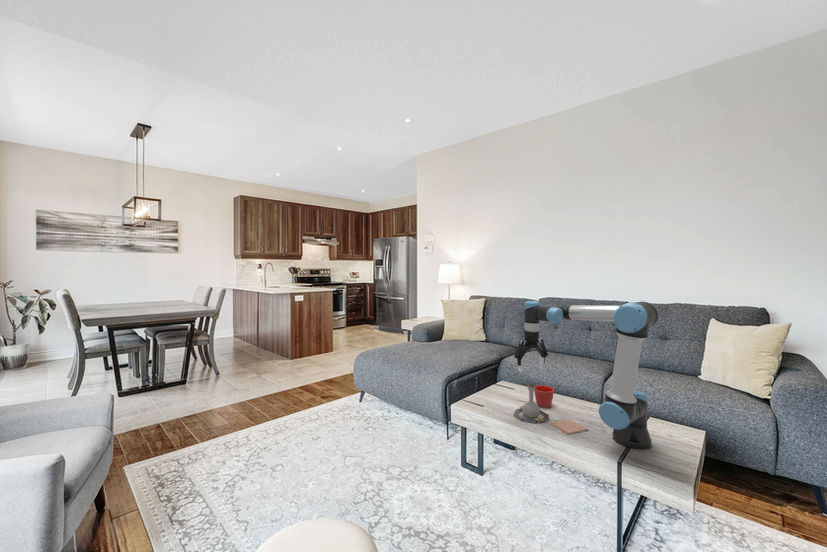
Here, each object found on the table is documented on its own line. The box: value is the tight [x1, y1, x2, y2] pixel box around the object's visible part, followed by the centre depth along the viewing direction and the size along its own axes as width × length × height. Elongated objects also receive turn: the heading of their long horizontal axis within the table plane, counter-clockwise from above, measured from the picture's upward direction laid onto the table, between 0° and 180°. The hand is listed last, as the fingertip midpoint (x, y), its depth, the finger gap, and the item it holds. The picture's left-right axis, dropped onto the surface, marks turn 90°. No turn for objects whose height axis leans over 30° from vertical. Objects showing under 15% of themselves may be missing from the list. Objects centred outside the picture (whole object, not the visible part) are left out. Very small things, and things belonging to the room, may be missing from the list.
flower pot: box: [533, 385, 555, 409], centre depth 203 cm, size 11×11×10 cm
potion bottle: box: [522, 382, 541, 420], centre depth 187 cm, size 9×9×18 cm
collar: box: [513, 405, 550, 425], centre depth 187 cm, size 17×17×2 cm
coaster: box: [550, 418, 589, 435], centre depth 175 cm, size 12×12×1 cm
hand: (531, 370), depth 187 cm, fingers open, 13 cm apart
